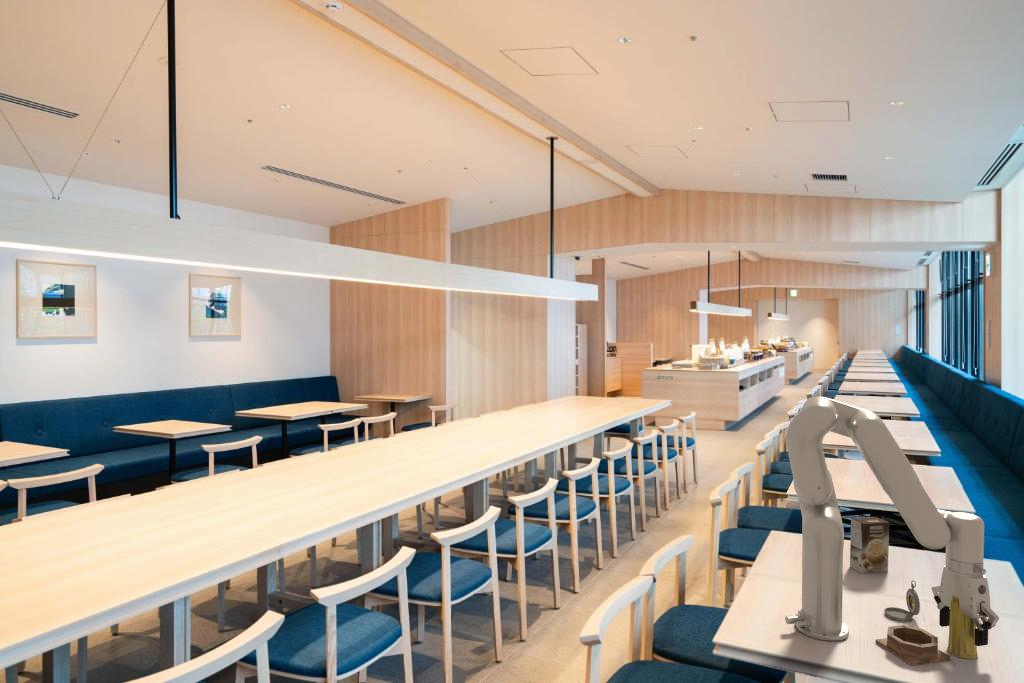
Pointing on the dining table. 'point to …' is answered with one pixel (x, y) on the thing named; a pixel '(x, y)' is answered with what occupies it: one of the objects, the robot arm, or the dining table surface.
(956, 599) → the vase
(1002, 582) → the dining table surface
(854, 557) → the coffee box
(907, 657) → the collar
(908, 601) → the pocket watch
